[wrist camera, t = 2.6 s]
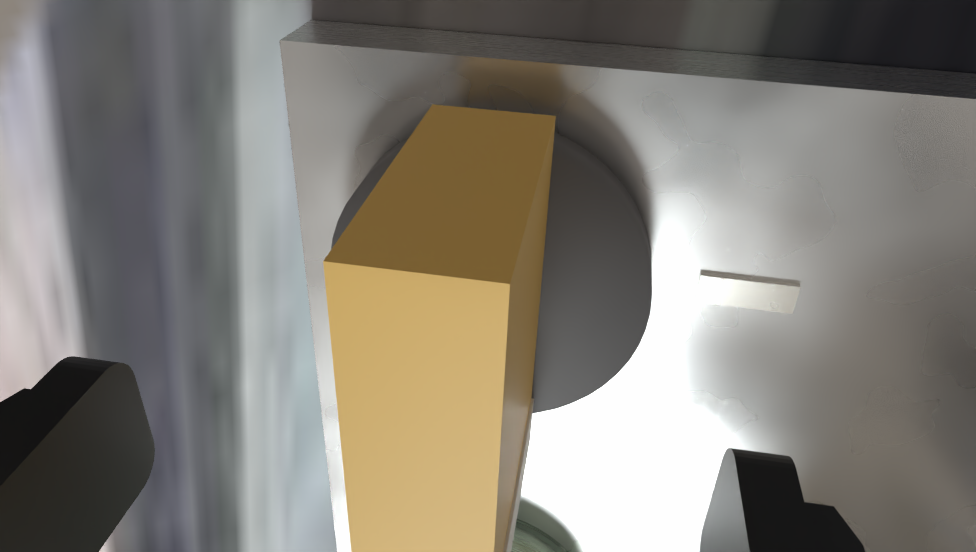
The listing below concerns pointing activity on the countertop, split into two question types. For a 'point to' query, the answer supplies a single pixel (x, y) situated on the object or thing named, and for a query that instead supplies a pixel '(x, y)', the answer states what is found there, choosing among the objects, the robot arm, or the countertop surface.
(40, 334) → the countertop surface
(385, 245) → the white-tipped yellow pillar
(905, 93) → the base
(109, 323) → the countertop surface
